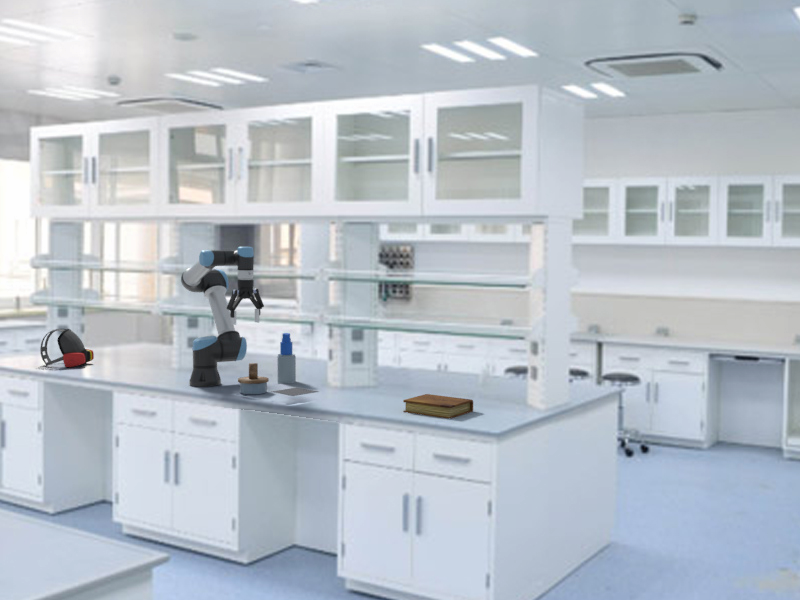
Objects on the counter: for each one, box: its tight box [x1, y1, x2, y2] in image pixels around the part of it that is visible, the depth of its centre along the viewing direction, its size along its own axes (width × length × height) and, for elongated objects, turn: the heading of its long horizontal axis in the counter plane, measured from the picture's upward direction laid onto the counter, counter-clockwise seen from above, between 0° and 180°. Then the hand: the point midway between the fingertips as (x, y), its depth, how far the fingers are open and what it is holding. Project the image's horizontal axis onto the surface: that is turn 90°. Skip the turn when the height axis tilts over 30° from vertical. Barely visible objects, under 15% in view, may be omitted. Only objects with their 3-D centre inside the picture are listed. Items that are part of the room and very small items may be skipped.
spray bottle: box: [277, 332, 297, 385], centre depth 451 cm, size 9×9×25 cm
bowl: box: [239, 382, 268, 397], centre depth 422 cm, size 12×12×6 cm
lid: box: [237, 362, 270, 384], centre depth 421 cm, size 14×14×8 cm
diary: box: [402, 393, 474, 419], centre depth 383 cm, size 23×19×6 cm
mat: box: [271, 387, 320, 397], centre depth 425 cm, size 16×16×1 cm
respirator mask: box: [39, 328, 95, 368], centre depth 508 cm, size 22×24×25 cm
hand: (245, 323), depth 436 cm, fingers open, 13 cm apart
